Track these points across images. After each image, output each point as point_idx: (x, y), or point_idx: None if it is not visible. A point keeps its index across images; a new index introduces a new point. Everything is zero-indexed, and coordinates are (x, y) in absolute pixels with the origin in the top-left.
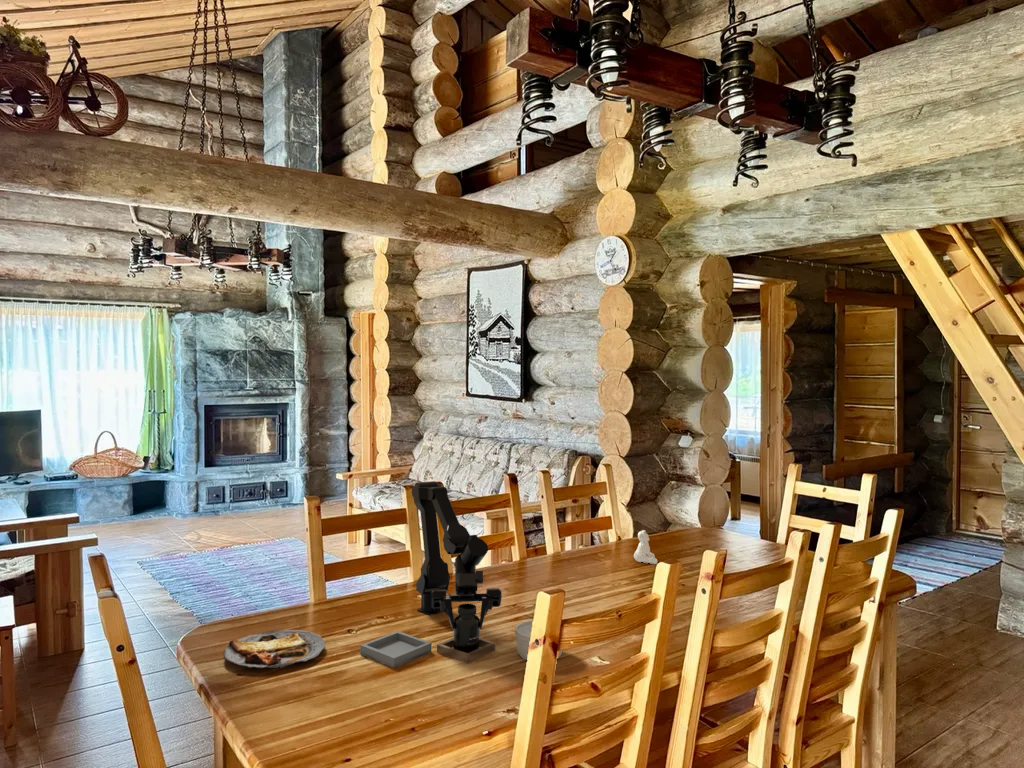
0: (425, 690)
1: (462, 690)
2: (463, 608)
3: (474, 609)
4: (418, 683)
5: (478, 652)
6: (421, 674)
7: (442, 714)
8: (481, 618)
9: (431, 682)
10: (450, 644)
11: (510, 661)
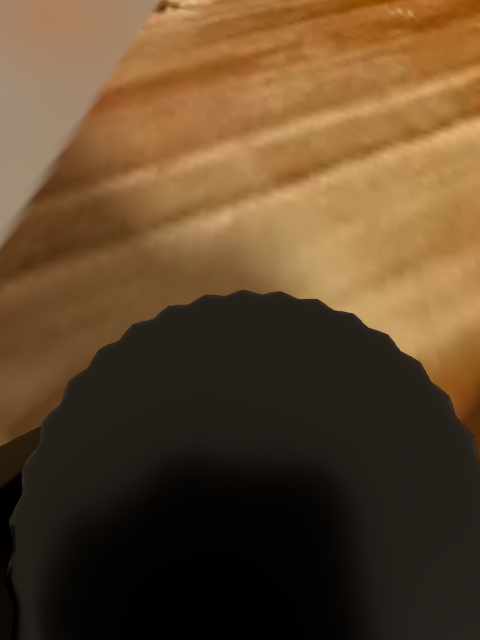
0: (421, 129)
1: (287, 110)
2: (358, 350)
3: (110, 357)
4: (458, 176)
5: None
6: (464, 242)
7: (350, 20)
8: (28, 452)
9: (408, 175)
10: None
11: (5, 307)
